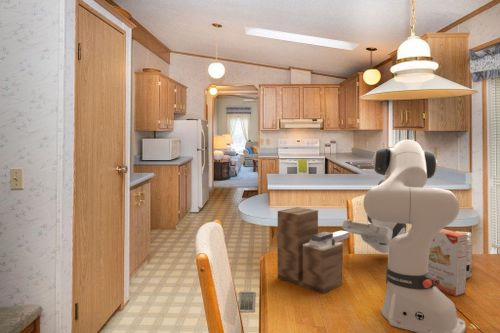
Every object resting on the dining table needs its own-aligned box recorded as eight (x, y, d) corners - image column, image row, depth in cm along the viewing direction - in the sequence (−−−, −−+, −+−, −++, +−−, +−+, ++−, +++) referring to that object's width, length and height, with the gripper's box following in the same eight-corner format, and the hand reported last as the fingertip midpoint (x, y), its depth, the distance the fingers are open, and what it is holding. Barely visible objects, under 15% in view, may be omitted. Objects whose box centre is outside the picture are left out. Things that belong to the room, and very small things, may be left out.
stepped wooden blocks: (342, 284, 137) (343, 214, 136) (323, 293, 129) (324, 219, 127) (297, 270, 152) (297, 207, 150) (277, 278, 144) (277, 211, 142)
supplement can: (449, 278, 143) (450, 239, 142) (444, 271, 151) (445, 234, 150) (473, 280, 141) (474, 241, 140) (467, 273, 149) (468, 235, 148)
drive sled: (349, 237, 144) (349, 228, 144) (318, 247, 130) (319, 237, 130) (340, 235, 147) (340, 226, 147) (309, 245, 133) (309, 235, 133)
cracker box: (419, 283, 138) (420, 227, 137) (430, 280, 141) (431, 225, 140) (455, 297, 126) (457, 235, 124) (466, 293, 128) (468, 233, 127)
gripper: (352, 223, 170) (338, 212, 161) (396, 231, 155) (383, 219, 146) (348, 237, 168) (334, 226, 159) (393, 246, 153) (379, 234, 144)
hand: (358, 223), depth 152 cm, fingers open, 8 cm apart
